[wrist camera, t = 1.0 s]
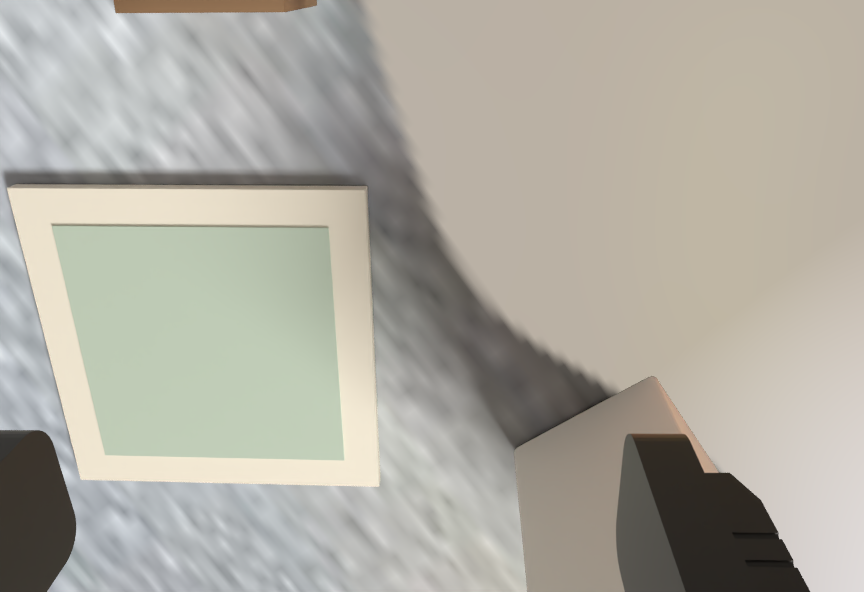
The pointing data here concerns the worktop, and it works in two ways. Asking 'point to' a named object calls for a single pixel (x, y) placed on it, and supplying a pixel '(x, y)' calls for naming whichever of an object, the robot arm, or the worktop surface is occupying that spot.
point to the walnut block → (209, 6)
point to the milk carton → (586, 488)
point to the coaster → (208, 329)
